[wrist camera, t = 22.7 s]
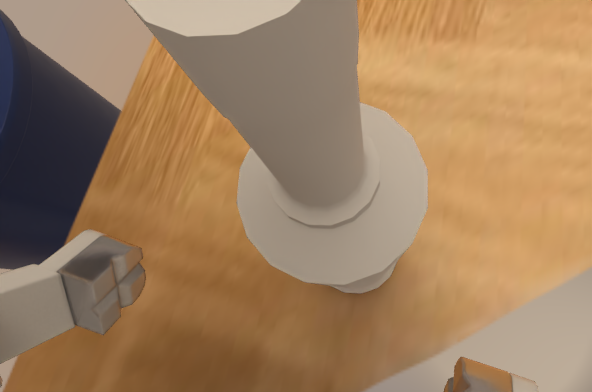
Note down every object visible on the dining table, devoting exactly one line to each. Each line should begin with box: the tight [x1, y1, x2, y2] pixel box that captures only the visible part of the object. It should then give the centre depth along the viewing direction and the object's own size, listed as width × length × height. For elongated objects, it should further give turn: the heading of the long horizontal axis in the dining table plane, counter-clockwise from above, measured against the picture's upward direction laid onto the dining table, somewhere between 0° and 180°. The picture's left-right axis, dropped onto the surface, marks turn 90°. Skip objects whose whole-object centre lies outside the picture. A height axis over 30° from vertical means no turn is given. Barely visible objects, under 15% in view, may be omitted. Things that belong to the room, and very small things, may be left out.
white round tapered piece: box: [125, 0, 428, 294], centre depth 16 cm, size 5×5×25 cm
